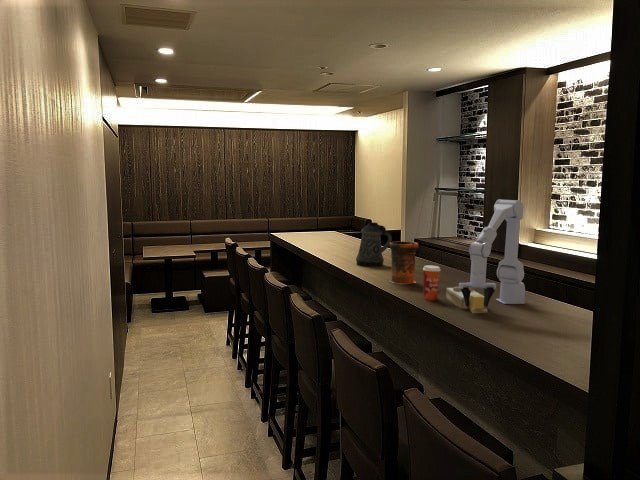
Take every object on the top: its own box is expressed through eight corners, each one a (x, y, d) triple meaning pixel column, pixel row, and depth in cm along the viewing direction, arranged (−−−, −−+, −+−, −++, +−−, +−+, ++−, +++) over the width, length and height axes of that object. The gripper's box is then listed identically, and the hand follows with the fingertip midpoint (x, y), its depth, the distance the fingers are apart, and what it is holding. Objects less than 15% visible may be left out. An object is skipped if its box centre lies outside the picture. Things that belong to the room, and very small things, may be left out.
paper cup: (426, 301, 224) (427, 268, 222) (418, 296, 231) (419, 265, 230) (442, 300, 226) (444, 268, 224) (434, 296, 233) (435, 265, 232)
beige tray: (468, 298, 230) (468, 290, 230) (492, 313, 206) (492, 304, 206) (446, 298, 229) (446, 290, 229) (467, 313, 205) (467, 304, 205)
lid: (468, 290, 230) (469, 284, 230) (485, 299, 212) (486, 293, 212) (446, 290, 229) (446, 284, 229) (461, 299, 211) (462, 293, 211)
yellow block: (479, 309, 211) (479, 294, 211) (483, 312, 207) (484, 297, 207) (469, 309, 211) (470, 294, 210) (473, 312, 207) (474, 297, 206)
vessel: (404, 286, 253) (405, 244, 251) (382, 281, 264) (383, 242, 262) (423, 282, 262) (424, 242, 261) (401, 278, 273) (402, 240, 271)
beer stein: (351, 263, 318) (352, 221, 315) (378, 261, 326) (380, 221, 323) (364, 267, 303) (366, 224, 300) (393, 265, 311) (394, 223, 308)
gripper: (464, 274, 203) (462, 308, 204) (500, 274, 204) (498, 308, 206) (457, 270, 209) (455, 304, 211) (492, 271, 211) (490, 304, 213)
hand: (476, 306), depth 209 cm, fingers open, 7 cm apart
